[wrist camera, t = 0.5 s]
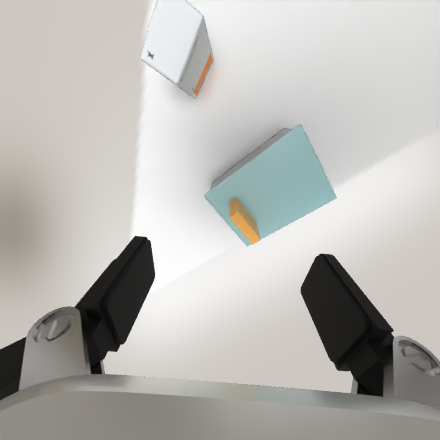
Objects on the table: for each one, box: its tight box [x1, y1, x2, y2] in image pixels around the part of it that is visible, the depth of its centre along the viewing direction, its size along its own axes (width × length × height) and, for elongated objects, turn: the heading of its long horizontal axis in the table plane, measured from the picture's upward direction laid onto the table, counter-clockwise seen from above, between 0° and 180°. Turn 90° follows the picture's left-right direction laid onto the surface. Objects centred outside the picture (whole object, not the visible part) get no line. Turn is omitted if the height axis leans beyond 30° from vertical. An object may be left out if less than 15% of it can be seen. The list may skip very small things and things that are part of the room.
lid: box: [204, 124, 337, 246], centre depth 26 cm, size 17×13×6 cm
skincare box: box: [141, 0, 213, 98], centre depth 21 cm, size 6×4×12 cm
